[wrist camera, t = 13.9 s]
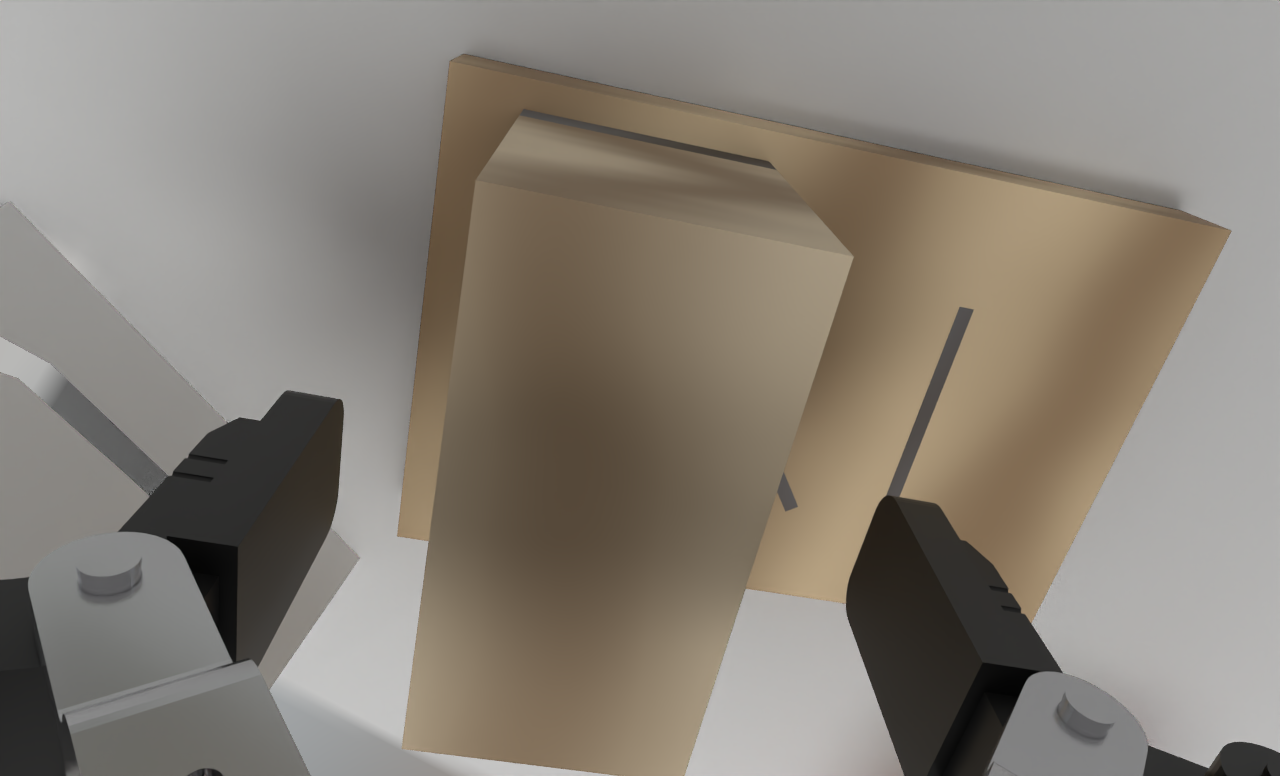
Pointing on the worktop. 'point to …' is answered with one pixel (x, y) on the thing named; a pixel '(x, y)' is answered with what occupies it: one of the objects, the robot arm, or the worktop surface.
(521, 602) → the block
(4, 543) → the grater
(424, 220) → the worktop surface
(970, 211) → the board
